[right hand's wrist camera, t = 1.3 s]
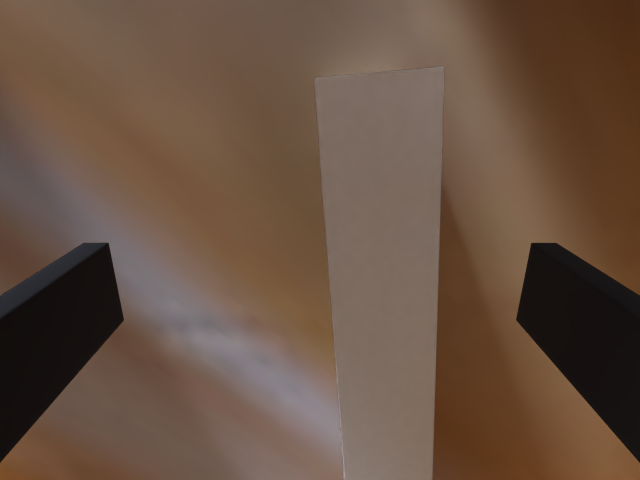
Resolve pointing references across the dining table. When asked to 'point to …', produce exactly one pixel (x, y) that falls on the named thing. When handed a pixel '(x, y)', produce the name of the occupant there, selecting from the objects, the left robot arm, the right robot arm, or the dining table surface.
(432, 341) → the bar
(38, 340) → the right robot arm
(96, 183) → the dining table surface
